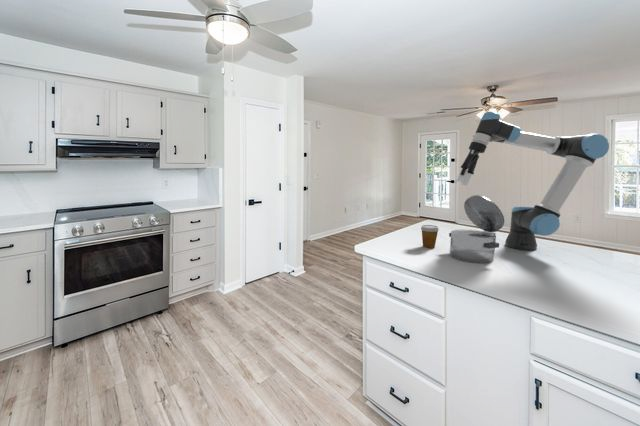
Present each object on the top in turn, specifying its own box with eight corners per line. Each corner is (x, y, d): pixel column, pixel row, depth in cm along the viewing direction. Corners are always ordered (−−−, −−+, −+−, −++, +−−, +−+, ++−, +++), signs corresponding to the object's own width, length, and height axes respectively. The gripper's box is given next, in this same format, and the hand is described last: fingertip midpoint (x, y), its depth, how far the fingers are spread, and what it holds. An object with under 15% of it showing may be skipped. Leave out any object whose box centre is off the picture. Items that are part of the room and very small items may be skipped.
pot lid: (471, 227, 163) (477, 223, 164) (506, 236, 144) (512, 231, 145) (459, 195, 157) (465, 190, 158) (494, 199, 137) (500, 194, 138)
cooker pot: (468, 248, 168) (470, 227, 166) (510, 261, 144) (513, 237, 142) (437, 252, 160) (439, 230, 158) (476, 267, 137) (478, 241, 135)
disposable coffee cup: (435, 245, 174) (436, 224, 172) (439, 249, 165) (441, 228, 163) (418, 244, 175) (419, 224, 173) (422, 249, 166) (423, 228, 164)
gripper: (475, 147, 163) (458, 183, 167) (467, 135, 143) (449, 177, 147) (489, 150, 159) (472, 188, 163) (484, 139, 139) (465, 182, 143)
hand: (461, 183), depth 155 cm, fingers open, 13 cm apart
